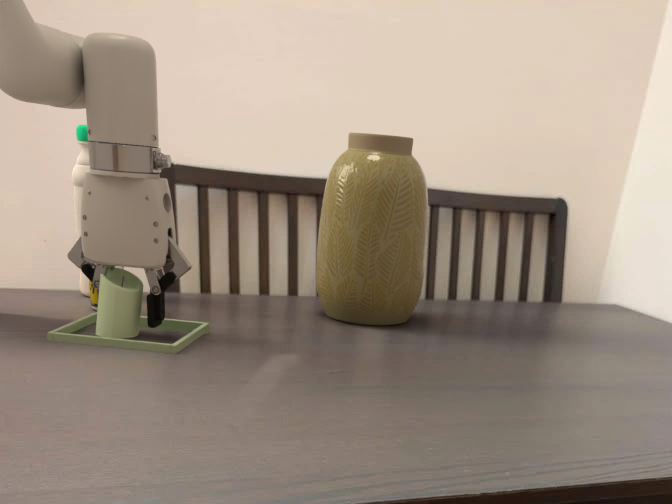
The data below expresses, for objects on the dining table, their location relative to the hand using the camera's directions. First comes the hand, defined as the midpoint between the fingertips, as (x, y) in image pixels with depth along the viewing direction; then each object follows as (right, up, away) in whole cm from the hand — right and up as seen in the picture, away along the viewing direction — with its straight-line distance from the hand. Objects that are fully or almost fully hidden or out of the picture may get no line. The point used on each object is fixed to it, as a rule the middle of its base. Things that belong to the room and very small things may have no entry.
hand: (132, 321), depth 89 cm
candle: (-2, -2, +1) cm, 3 cm away
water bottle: (-14, +11, +30) cm, 35 cm away
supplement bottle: (-10, +6, +20) cm, 24 cm away
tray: (0, -3, +1) cm, 3 cm away
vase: (+29, +7, +30) cm, 42 cm away
